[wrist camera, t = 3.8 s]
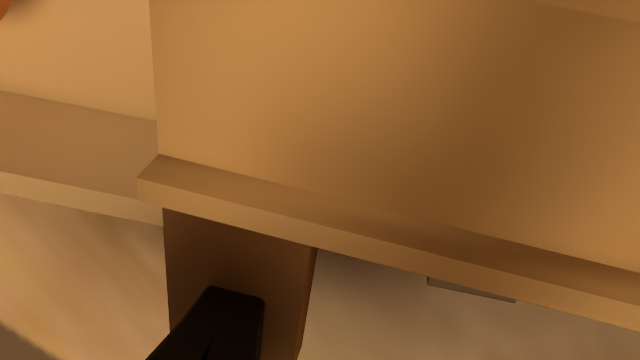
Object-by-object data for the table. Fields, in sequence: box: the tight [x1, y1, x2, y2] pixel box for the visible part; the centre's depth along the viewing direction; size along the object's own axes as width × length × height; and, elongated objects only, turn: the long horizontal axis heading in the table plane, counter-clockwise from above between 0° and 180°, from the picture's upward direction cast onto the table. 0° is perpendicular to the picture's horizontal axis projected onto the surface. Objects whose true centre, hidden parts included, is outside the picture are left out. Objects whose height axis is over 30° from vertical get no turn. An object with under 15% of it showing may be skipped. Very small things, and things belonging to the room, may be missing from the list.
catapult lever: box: [136, 0, 640, 360], centre depth 9 cm, size 12×10×3 cm
